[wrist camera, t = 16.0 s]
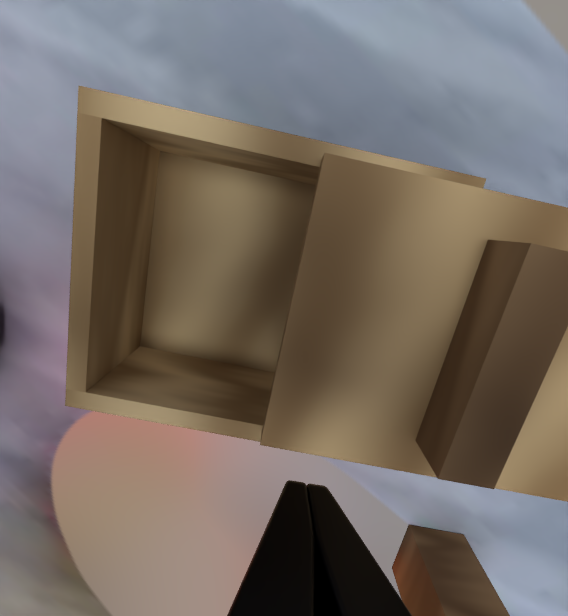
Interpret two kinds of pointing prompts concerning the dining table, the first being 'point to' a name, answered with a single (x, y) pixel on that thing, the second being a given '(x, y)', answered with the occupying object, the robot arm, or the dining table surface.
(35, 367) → the dining table surface
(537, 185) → the dining table surface
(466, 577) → the brown block
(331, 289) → the lid
